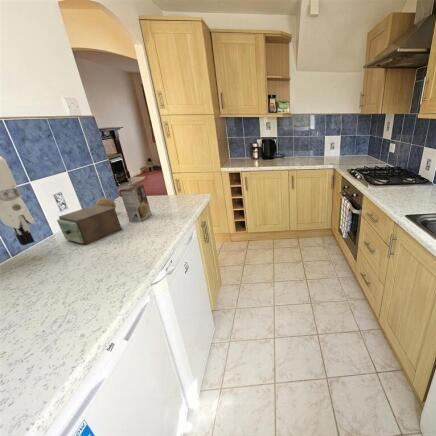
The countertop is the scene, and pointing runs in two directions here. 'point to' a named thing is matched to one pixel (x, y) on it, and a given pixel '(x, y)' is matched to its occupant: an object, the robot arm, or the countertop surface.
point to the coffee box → (135, 202)
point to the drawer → (70, 230)
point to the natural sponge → (106, 202)
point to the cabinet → (95, 222)
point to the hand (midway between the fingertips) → (27, 243)
